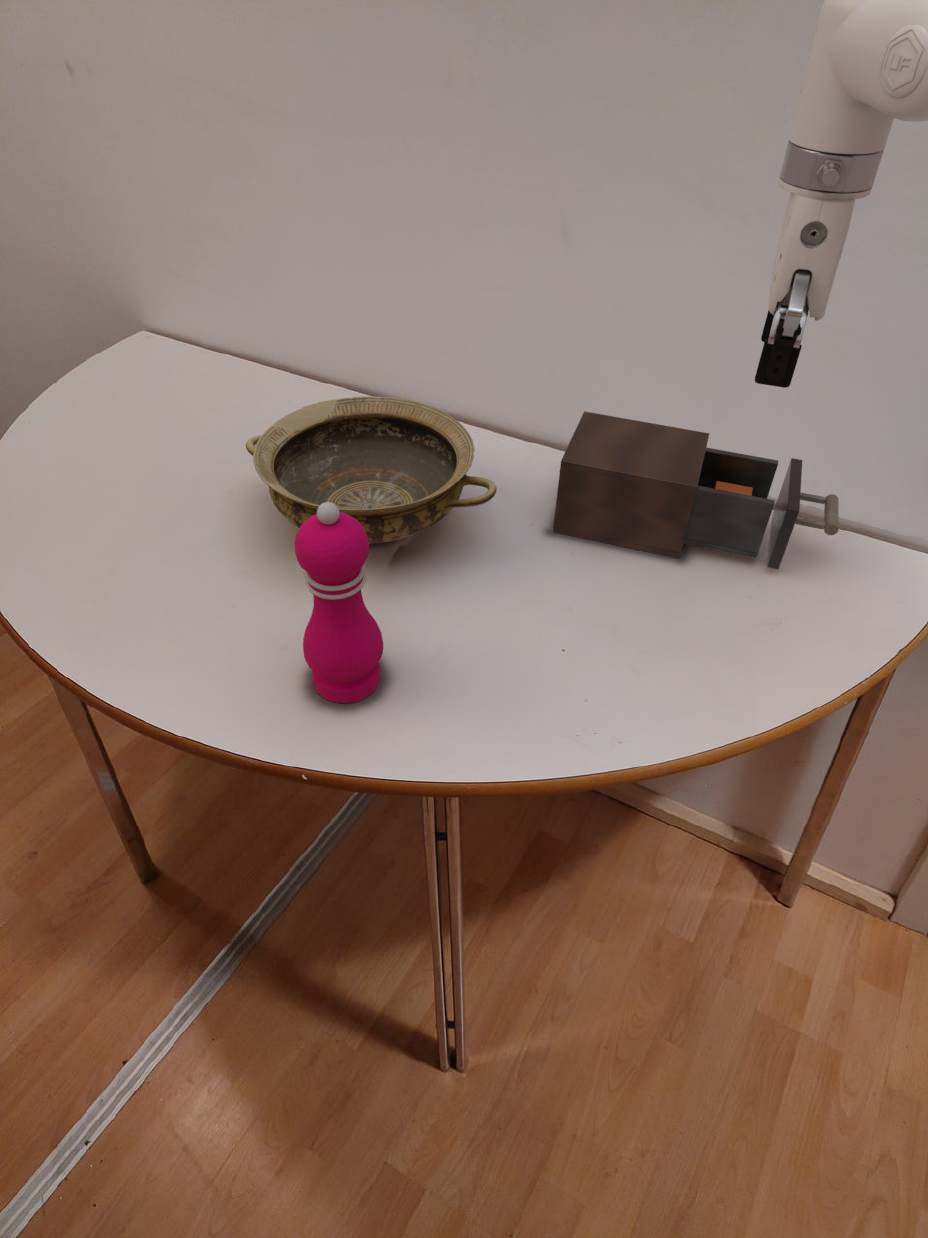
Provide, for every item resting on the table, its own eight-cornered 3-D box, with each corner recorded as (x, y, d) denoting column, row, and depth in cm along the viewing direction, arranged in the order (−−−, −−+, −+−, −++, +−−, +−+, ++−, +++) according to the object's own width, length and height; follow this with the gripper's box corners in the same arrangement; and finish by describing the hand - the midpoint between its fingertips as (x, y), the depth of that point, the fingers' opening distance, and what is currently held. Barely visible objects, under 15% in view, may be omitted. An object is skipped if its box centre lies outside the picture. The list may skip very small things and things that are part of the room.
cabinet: (692, 503, 100) (709, 433, 93) (679, 559, 92) (697, 486, 85) (575, 480, 103) (584, 410, 97) (552, 532, 95) (560, 460, 88)
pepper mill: (348, 720, 74) (328, 544, 60) (292, 683, 77) (260, 508, 63) (401, 674, 78) (392, 499, 64) (345, 641, 81) (326, 468, 67)
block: (744, 516, 95) (753, 487, 92) (741, 536, 92) (750, 506, 89) (708, 509, 95) (716, 480, 93) (705, 528, 93) (713, 499, 90)
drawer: (824, 525, 95) (846, 467, 90) (823, 579, 88) (847, 520, 83) (667, 494, 100) (680, 437, 94) (654, 543, 92) (667, 485, 87)
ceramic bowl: (523, 495, 100) (529, 422, 94) (451, 617, 84) (452, 539, 77) (306, 445, 108) (297, 374, 101) (201, 548, 91) (182, 472, 85)
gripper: (880, 202, 62) (812, 409, 73) (872, 149, 74) (815, 333, 85) (777, 191, 63) (726, 395, 75) (786, 141, 76) (741, 323, 87)
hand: (774, 362), depth 80 cm, fingers open, 9 cm apart
